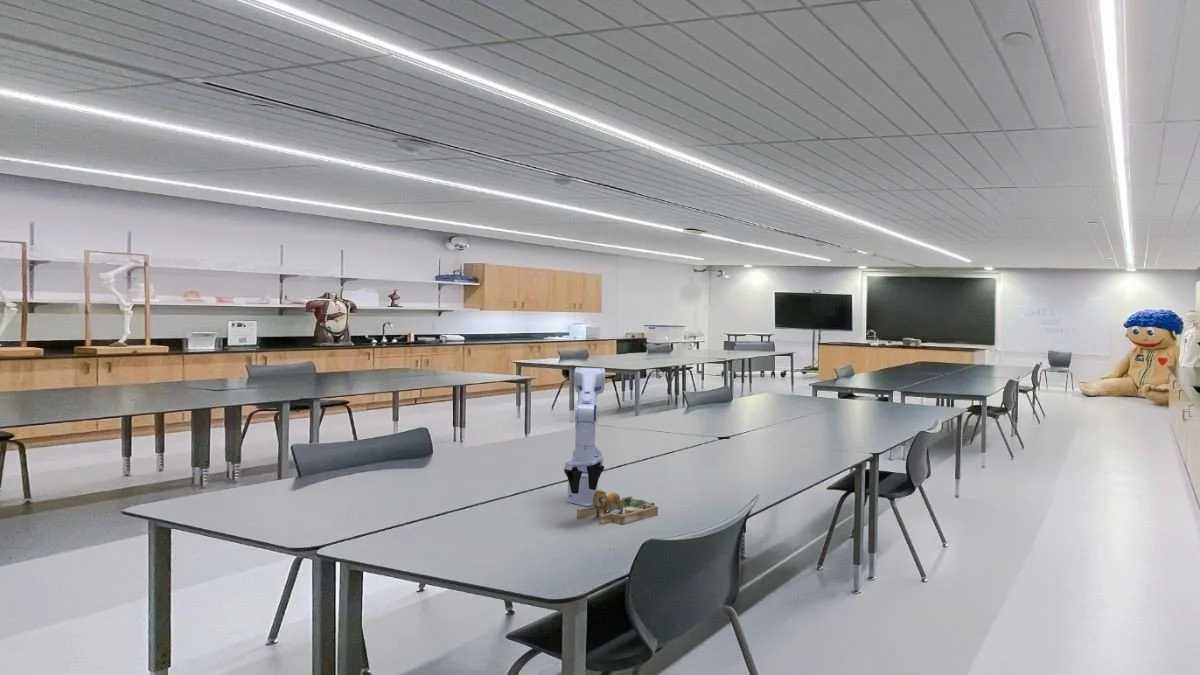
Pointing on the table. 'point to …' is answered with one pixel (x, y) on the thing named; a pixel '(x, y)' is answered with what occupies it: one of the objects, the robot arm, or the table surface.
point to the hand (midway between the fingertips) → (583, 491)
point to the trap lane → (630, 513)
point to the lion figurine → (606, 502)
